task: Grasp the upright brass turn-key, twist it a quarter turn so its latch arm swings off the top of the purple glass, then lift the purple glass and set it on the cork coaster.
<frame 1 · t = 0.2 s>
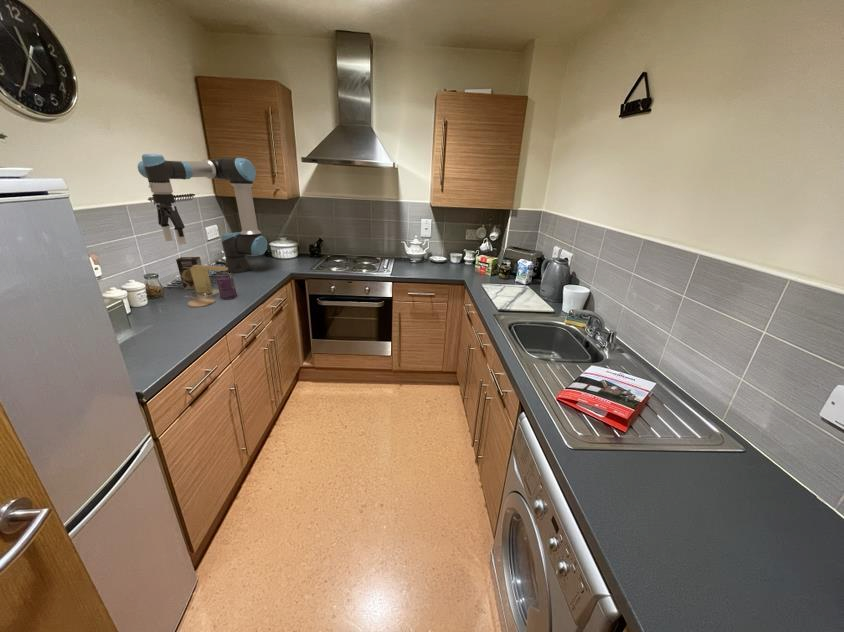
hand: (175, 242, 148), 27 cm above the worktop, fingers open, 13 cm apart
turnkey: (211, 280, 157), point 8 cm above the worktop, hinge at 0.0°
coaster: (202, 303, 151), on the worktop
coffee box: (195, 288, 171), on the worktop
key plate: (205, 294, 161), on the worktop
purple glass: (229, 297, 159), on the worktop
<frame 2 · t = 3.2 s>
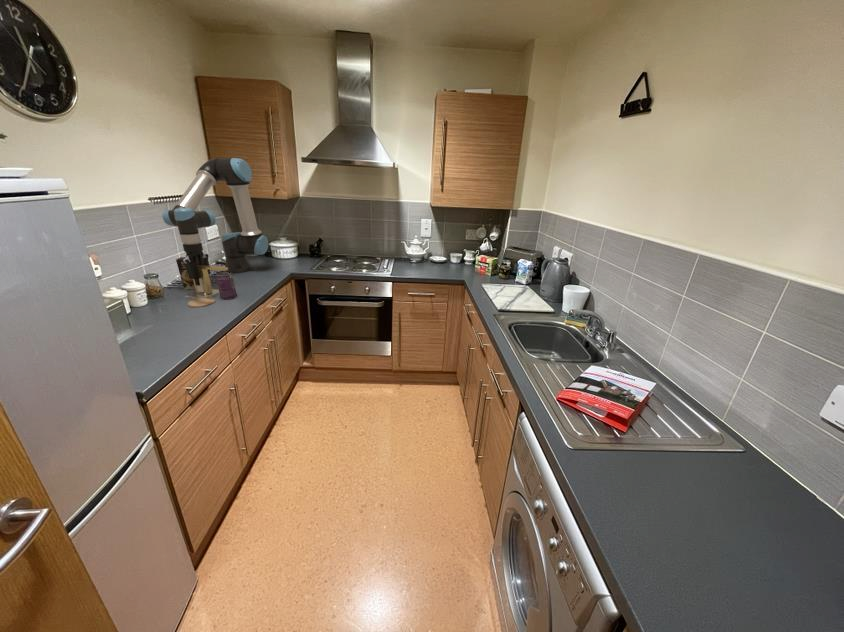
hand: (204, 290, 160), 3 cm above the worktop, fingers closed on turnkey, 3 cm apart
turnkey: (211, 280, 157), point 8 cm above the worktop, hinge at 0.2°, touching gripper
everything else where it was.
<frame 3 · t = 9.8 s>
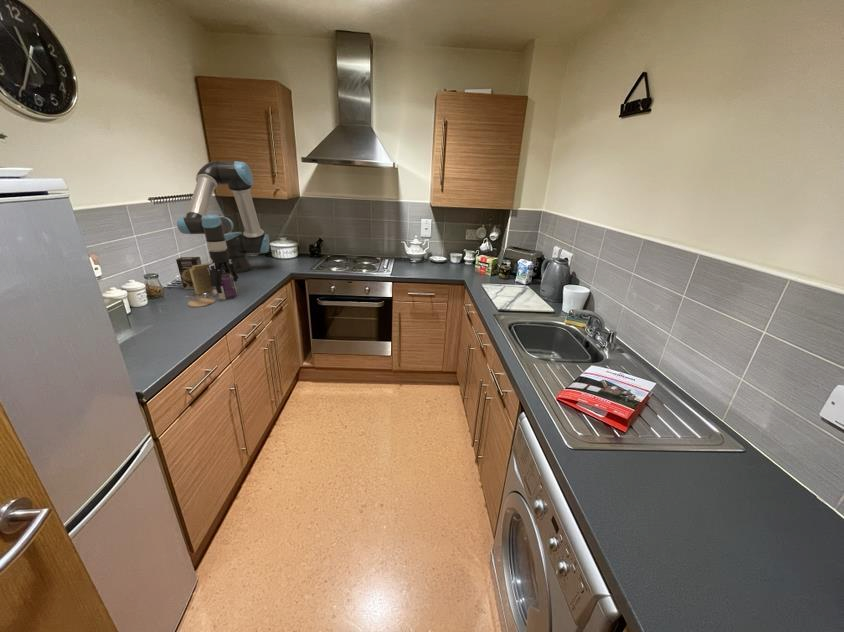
hand: (228, 296, 158), 1 cm above the worktop, fingers closed on purple glass, 7 cm apart
turnkey: (214, 276, 163), point 8 cm above the worktop, hinge at 66.3°
purple glass: (229, 297, 159), on the worktop, touching gripper
everything else where it was.
when the fingers open (2 cm above the worktop, at t = 15.5 s): purple glass drops 1 cm, resting on coaster.
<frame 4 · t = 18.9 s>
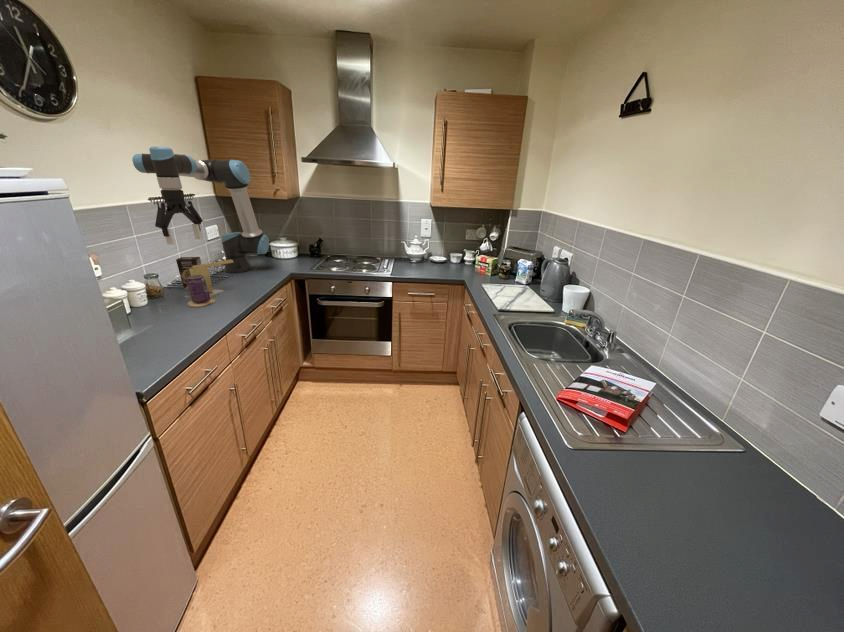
hand: (185, 241, 139), 29 cm above the worktop, fingers open, 13 cm apart
purple glass: (201, 301, 151), point 1 cm above the worktop, touching coaster
everything else where it was.
at the end: turnkey at +66° (first picture: +0°); purple glass 0.2 cm from the coaster (horizontally); purple glass tilted 0° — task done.
